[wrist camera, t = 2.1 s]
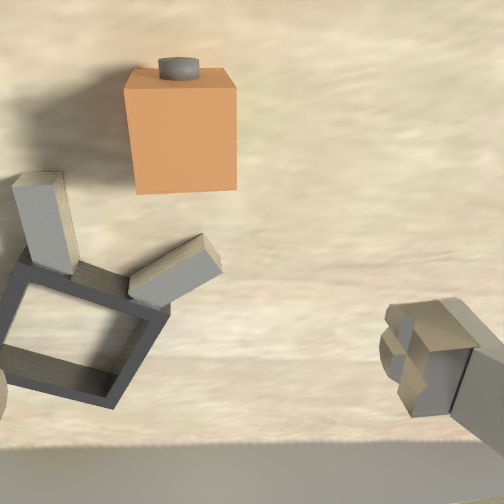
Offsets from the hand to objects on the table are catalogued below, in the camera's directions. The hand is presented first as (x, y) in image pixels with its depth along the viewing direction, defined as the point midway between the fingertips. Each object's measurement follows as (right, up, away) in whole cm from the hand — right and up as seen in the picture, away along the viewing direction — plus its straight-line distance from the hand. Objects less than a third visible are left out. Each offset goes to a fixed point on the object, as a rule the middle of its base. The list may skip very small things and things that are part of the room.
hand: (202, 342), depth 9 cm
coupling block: (-3, +10, +17) cm, 20 cm away
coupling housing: (-10, -1, +22) cm, 24 cm away
